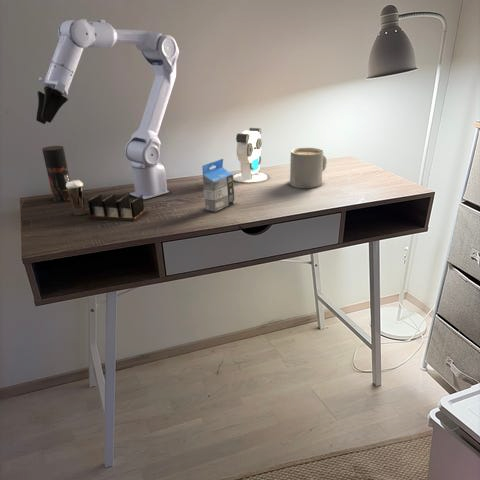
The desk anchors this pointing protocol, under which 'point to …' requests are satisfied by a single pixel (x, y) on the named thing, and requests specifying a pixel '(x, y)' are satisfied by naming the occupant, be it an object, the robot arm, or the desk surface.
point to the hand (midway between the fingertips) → (43, 121)
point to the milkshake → (76, 196)
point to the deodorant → (57, 172)
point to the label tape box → (217, 186)
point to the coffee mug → (307, 167)
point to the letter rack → (116, 208)
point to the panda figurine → (249, 156)
